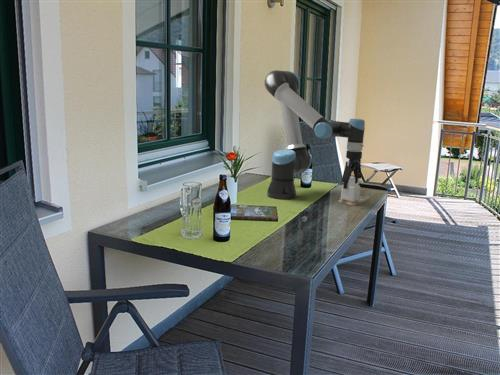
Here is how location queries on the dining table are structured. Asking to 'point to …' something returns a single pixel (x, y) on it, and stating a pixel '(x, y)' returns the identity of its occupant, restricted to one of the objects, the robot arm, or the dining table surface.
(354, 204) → the coaster board
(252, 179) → the dining table surface
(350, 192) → the medicine bottle
